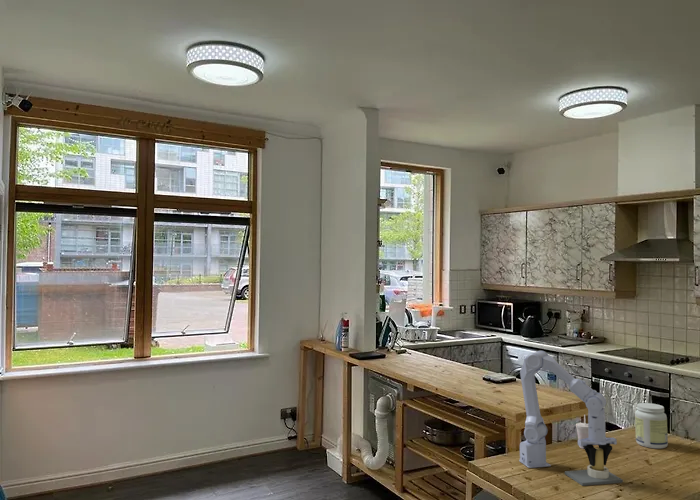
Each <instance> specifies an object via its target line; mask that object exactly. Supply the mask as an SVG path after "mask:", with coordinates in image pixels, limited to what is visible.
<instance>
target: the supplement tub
mask: <svg viewBox="0 0 700 500" xmlns="http://www.w3.org/2000/svg"><path fill="white" fill-rule="evenodd" d="M634 425H635V426H634V428H635V429H634V430H635V441H636V442H635V443H636V444H638V445H639V446H642V447H644V448H648V449H649V448H650V449H665V448H667V447H668V445H669V441H668V440H669V439H668V438H669V437H668V417H667V414H666V413H665V407H664V406H663V405H660V404H658V403H657V404H656V403H651V402H640V403H637V404H636V410H635V412H634Z"/></svg>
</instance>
